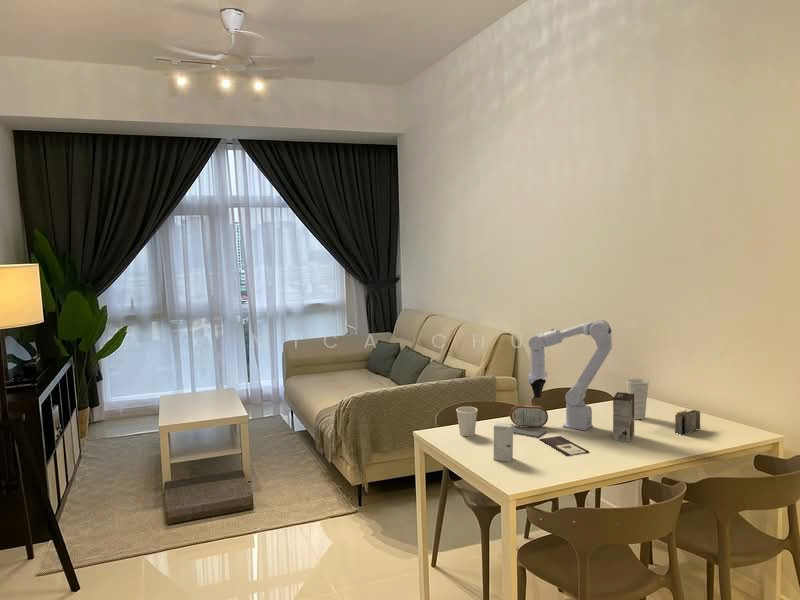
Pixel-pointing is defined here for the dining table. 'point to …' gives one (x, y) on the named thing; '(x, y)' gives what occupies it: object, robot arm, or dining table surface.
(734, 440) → the dining table surface
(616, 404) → the coffee box
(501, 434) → the skincare box
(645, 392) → the cup
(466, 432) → the dixie cup
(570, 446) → the chocolate bar
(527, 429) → the mat
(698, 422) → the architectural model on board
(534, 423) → the tin
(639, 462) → the dining table surface
